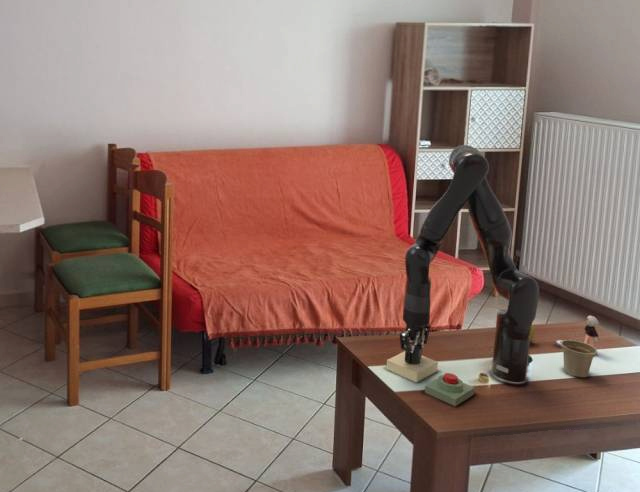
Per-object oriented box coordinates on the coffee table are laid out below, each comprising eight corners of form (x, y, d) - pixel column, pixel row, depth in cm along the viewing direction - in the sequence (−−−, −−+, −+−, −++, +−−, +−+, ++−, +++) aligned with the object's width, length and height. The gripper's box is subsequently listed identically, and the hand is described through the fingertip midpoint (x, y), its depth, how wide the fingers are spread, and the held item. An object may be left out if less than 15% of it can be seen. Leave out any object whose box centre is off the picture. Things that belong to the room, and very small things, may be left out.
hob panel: (407, 358, 219) (407, 349, 219) (437, 371, 212) (438, 361, 211) (386, 369, 212) (386, 359, 212) (416, 382, 204) (417, 372, 204)
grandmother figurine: (574, 347, 230) (578, 311, 229) (585, 347, 230) (589, 311, 229) (591, 358, 223) (595, 321, 221) (602, 358, 223) (607, 321, 221)
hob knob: (423, 361, 211) (424, 347, 210) (414, 365, 208) (416, 350, 208) (409, 356, 215) (411, 341, 214) (401, 359, 212) (402, 345, 211)
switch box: (443, 381, 205) (445, 368, 205) (474, 394, 198) (475, 381, 198) (424, 392, 199) (425, 379, 198) (455, 406, 192) (456, 393, 191)
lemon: (535, 347, 230) (537, 324, 229) (517, 345, 231) (519, 322, 230) (529, 340, 235) (531, 317, 234) (512, 338, 236) (514, 316, 235)
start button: (447, 377, 201) (447, 371, 200) (459, 382, 198) (460, 376, 198) (441, 381, 198) (441, 375, 198) (453, 386, 196) (453, 380, 195)
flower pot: (596, 373, 213) (599, 346, 212) (591, 384, 206) (594, 356, 205) (561, 362, 219) (564, 337, 218) (555, 372, 212) (557, 346, 211)
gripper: (415, 316, 202) (412, 371, 204) (440, 305, 211) (436, 358, 213) (392, 308, 208) (389, 362, 210) (417, 298, 217) (413, 349, 219)
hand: (413, 360), depth 211 cm, fingers closed on hob knob, 4 cm apart
